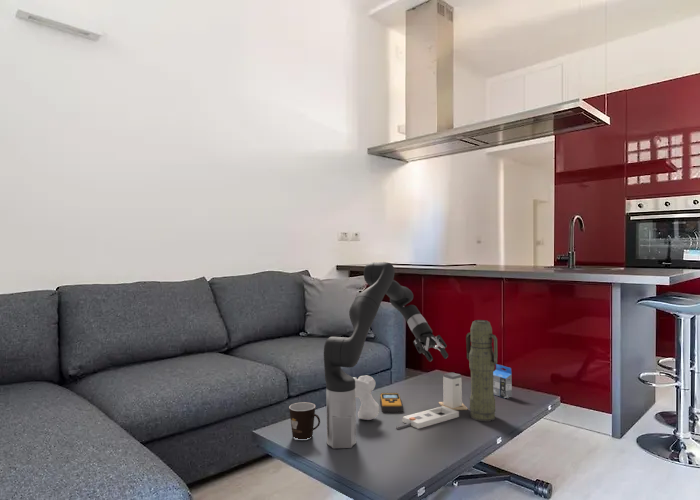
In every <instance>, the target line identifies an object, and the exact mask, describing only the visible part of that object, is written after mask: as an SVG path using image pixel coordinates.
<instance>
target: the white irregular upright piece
mask: <svg viewBox="0 0 700 500" xmlns="http://www.w3.org/2000/svg"><path fill="white" fill-rule="evenodd" d="M352 377H353V378H354V379H355V399H356V398H358V399H359V400H360V403H361V405H360V407H359V409H358V412H357V417H358V419H360V420H367V421H370V420H373V419H375V418H377V417H378V415H379V412H380V405H379V403H378V402H377V401H376V400H375V399H374V397H373V394H372V392H373V391H374V389H375V387H376V380H375V379H374V378H373V377H372V376H370V375H366V374H365V375H360V376H359V377H358V378H357V377H356V376H355V377H354V376H352Z"/></svg>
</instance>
